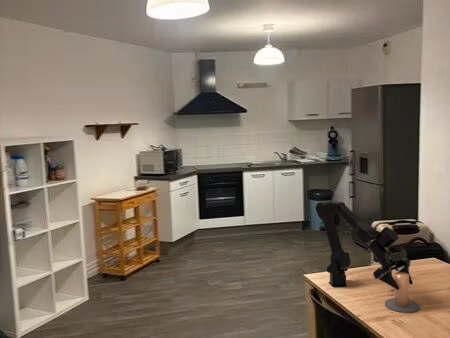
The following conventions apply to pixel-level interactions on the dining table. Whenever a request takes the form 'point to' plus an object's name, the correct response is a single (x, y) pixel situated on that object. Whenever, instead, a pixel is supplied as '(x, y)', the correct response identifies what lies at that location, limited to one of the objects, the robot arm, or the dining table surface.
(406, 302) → the tan rounded cylinder
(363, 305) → the dining table surface
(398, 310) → the mat
